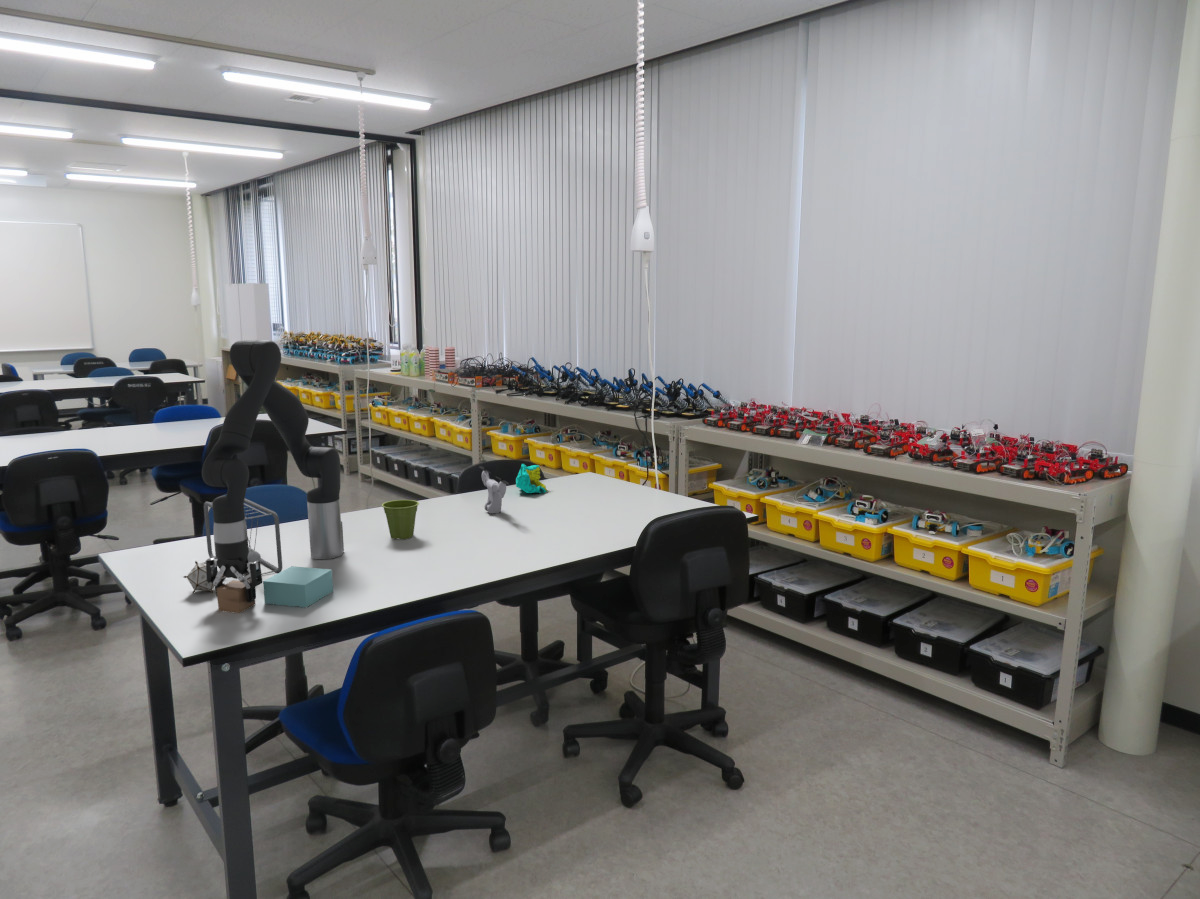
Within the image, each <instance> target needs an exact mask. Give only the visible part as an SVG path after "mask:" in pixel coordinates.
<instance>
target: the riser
mask: <svg viewBox="0 0 1200 899" xmlns="http://www.w3.org/2000/svg"><path fill="white" fill-rule="evenodd" d="M333 582H334V581H333V569H329V568H315V567H305V566H296V565H295V566H294V565H291V566H290V567H287V568H285V569H282V571H281V572H279V573H278V572H277V573H276V574H273V575H272V576H270V577H267V578H266V579H264V580H262V586H263V597H264V598H263V599H264V604H265V603H266V604H265V605H274V604H276V606H284V605H288V606H287V607H294V606H299V607H298V608H304V607H307V608H309V607H310V606H312V605H313V604H315V603H316V601H317V602H318V601H320V600H322V599H323V598H324V596H325V597H326V596H328V595H330V594H331V593H333V592H334V585H333ZM329 593H330V594H329ZM322 597H323V598H322ZM319 599H320V600H319ZM311 604H312V605H311ZM309 605H310V606H309ZM308 606H309V607H308Z"/></svg>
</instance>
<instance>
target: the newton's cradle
mask: <svg viewBox="0 0 1200 899" xmlns="http://www.w3.org/2000/svg"><path fill="white" fill-rule="evenodd" d="M212 504H213V501H211V502H210V501H205V502H204V503H203V515H204V525H205V534H206V546H207V554H208V557H209V559H211V558H213V557H216V555H214V554H213V547H212V539H211V527H210V513H209V508H211V509H213V506H212ZM246 508H247V510H246V512H247V513H245V522H246V526H247V525H248V521H247V520H251V522H253V520H254V519H256V518H257V519H258V518H261V517H267V516H273V519H274V530H275V542H276V543H275V544H276V555H277V556H276V558H277V566H276V565H275V564H273V563H270V562H268V561H266V560H265V559H264V558H261V557H262V556H261V554H260V553H259V551H257V550H255V548H256V546H254V548H252V546H251V542H250V540H252V533H250V535H249V538H248V549H249V553H248V557H247V558H248V561H249V562H256V561H259V562H260V564H262V563H263V564H262V565H264V566H266V567H267V566H268V568H269V567H270V568H269V569H271V570H272V571H267V572H261V574H262V576H263V575H267V574H271V573H278V572H279V573H280V572H281V571H283V557H282V546H281V545H282V543H281V542H282V541H281V532H280V531H281V530H280V529H281V528H280V519H279V515H278V513H277V512H275V511H274V510H272V509H269V508H267V507H265V506H262V505H260V504H258V503H256V502H254V501H252V500H249V499H247V498H245V499H244V509H246ZM250 509H251V510H252V512H250V513H249V511H250ZM256 513H258V514H257V515H256V516H254V515H252V516H250V517H249V514H250V515H251V514H256ZM260 514H261V515H260ZM258 523H259V520H257V523H256V527H258ZM255 529H256V531H255V536H257V535H258V534H257V533H258V528H255ZM252 530H253V524H251V525H250V531H252ZM256 541H257V537H255V540H254V544H257V543H256ZM243 576H246V574H244V575H243Z"/></svg>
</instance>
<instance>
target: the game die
mask: <svg viewBox="0 0 1200 899" xmlns="http://www.w3.org/2000/svg"><path fill="white" fill-rule="evenodd" d="M194 562H195V565H194V567H193V568H192V569H191V571H190V572H189V573H188V574H187V575H184V576H183V578H184V579H186V578H187V580H188V582H189V584H190V585H191V587H192V589H193V591H192V594H194V592H195V593H196V592H197V591H204V592H205V591H206V592H207V591H209V592H210V593H212V594H213V593H214V590H213V589H215V585H214V584H213V583H211V582H210V583H208V582H207V574H206V562H205V563H201V562H200V563H198V561H197V560H195V561H194ZM218 572H219V569H217V574H218Z"/></svg>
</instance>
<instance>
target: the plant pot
mask: <svg viewBox="0 0 1200 899" xmlns="http://www.w3.org/2000/svg"><path fill="white" fill-rule="evenodd" d="M419 505H420V502H419V501H417V500H413V499H395V500H389V501H385V502H383V503H382V504H381V507H382V508H383V511H384V514H385V516H386V522H387V526H388V531H389V534H390V539H393V540H402V541H403V540H406V539H409V540H410V539H411V538H412V537H413V536H414V534H415V533H414V532H415V524H416V516H417V511H418V507H419Z"/></svg>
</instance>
